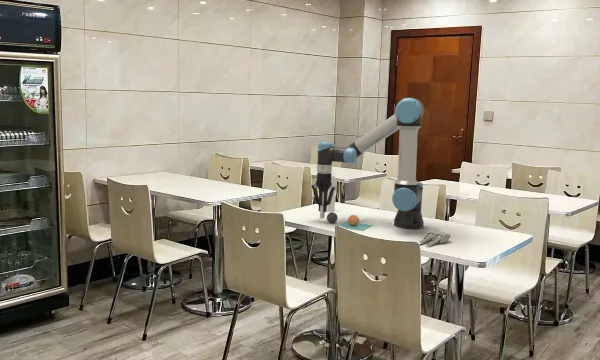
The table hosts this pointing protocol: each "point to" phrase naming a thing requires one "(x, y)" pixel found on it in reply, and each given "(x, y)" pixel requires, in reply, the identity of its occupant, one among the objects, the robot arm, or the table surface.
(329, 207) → the milk
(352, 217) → the ball
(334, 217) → the ball
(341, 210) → the table surface
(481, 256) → the table surface
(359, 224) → the mark
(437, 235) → the grey glove
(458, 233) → the table surface
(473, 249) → the table surface
